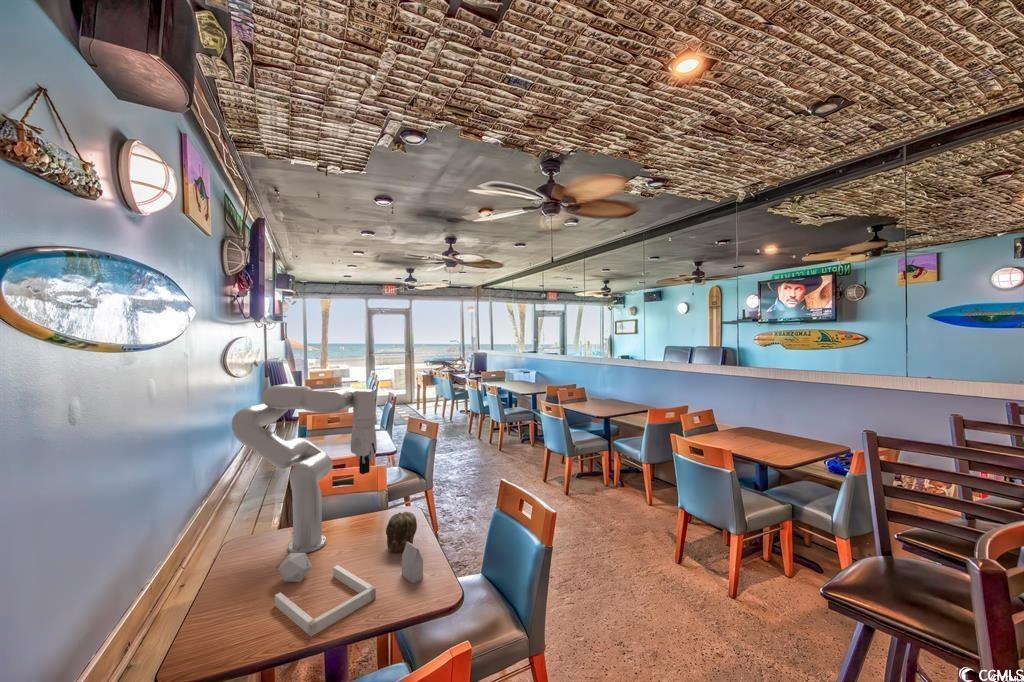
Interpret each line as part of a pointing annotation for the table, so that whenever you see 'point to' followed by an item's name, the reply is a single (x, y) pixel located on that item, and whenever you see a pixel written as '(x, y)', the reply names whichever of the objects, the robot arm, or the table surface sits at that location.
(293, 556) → the die
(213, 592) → the table surface
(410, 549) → the grey faceted angular block
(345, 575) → the bay
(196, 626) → the table surface
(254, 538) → the table surface
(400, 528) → the shell
